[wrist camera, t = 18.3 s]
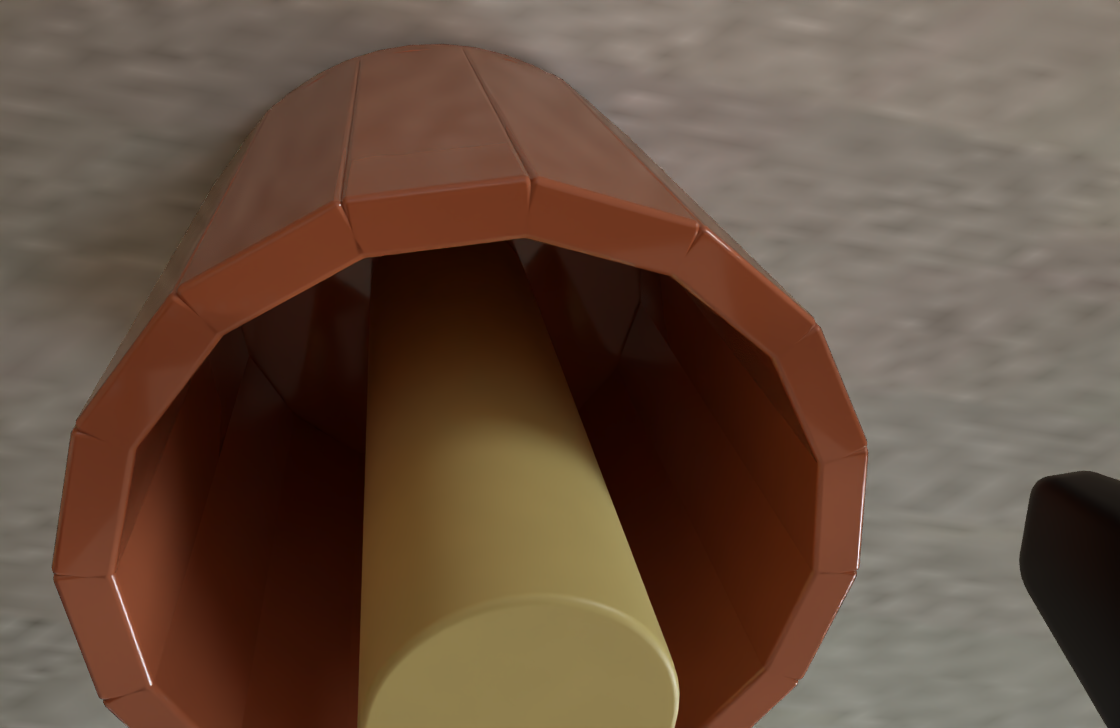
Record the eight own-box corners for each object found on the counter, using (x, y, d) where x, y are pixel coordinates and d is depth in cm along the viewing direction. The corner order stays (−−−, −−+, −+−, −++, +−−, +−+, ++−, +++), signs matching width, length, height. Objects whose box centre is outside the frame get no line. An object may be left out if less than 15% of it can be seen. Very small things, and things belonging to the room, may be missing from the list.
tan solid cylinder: (519, 209, 13) (678, 571, 6) (533, 353, 14) (684, 810, 7) (358, 229, 13) (330, 631, 6) (383, 374, 14) (385, 869, 7)
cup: (651, 19, 13) (897, 132, 7) (664, 434, 16) (844, 779, 10) (154, 69, 12) (-80, 247, 6) (261, 495, 15) (178, 910, 9)
